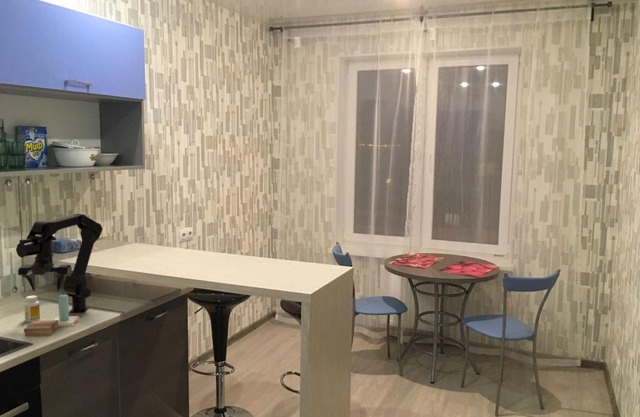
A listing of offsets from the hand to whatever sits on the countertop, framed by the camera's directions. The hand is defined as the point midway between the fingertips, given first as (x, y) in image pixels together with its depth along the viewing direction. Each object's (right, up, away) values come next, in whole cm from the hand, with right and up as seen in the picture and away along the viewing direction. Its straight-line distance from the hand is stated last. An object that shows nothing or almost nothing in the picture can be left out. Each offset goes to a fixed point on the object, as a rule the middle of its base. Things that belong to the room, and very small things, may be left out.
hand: (46, 290), depth 217 cm
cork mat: (+7, -13, +1) cm, 15 cm away
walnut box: (+3, -14, -10) cm, 18 cm away
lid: (+7, -13, +1) cm, 15 cm away
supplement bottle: (-7, -13, +4) cm, 15 cm away
